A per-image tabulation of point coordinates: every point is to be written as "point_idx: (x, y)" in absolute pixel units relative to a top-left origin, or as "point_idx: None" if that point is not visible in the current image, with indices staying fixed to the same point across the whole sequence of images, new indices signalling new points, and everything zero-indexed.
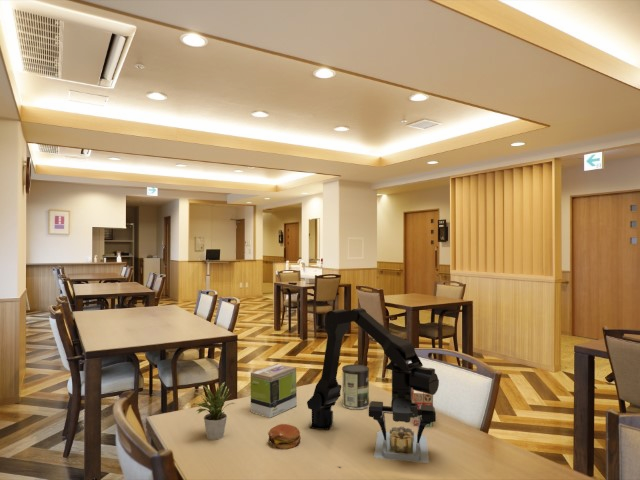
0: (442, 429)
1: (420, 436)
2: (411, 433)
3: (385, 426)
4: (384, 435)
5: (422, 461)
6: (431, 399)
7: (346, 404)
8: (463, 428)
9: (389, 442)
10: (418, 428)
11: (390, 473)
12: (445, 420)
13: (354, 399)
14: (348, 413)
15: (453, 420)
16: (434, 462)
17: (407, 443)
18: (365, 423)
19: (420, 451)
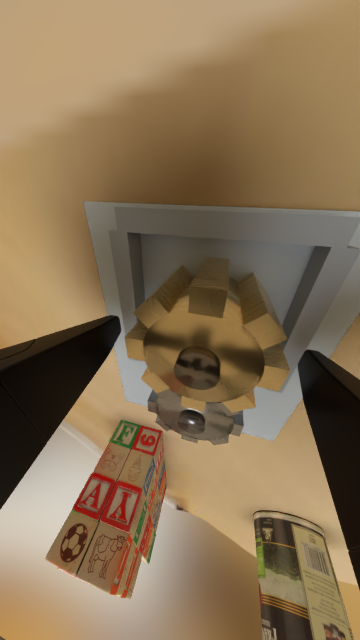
0: (102, 419)
1: (70, 328)
2: (155, 401)
3: (331, 456)
4: (339, 372)
5: (114, 212)
6: (66, 529)
7: (321, 539)
8: (67, 415)
9: None
10: (54, 382)
11: (340, 15)
12: (103, 442)
13: (306, 556)
14: (323, 513)
15: (90, 439)
16: (88, 256)
17: (166, 289)
18: (290, 475)
19: (115, 273)
